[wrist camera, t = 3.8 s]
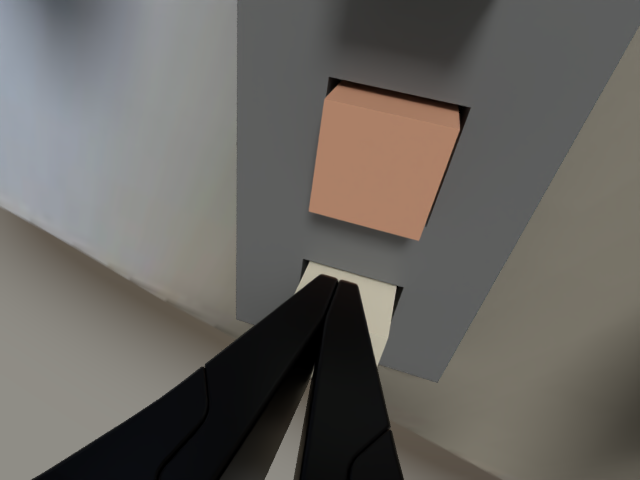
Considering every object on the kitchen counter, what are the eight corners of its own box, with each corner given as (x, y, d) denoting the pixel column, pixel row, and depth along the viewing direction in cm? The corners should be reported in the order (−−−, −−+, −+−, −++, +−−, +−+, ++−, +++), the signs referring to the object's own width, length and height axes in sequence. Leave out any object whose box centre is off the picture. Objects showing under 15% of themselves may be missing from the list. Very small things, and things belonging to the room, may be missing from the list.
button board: (792, -321, 8) (873, -388, 7) (438, 354, 23) (437, 382, 21) (272, -353, 10) (239, -413, 8) (249, 296, 24) (236, 319, 23)
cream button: (397, 284, 19) (388, 338, 16) (376, 341, 21) (366, 395, 19) (310, 260, 19) (287, 307, 16) (301, 318, 22) (280, 367, 19)
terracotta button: (457, 99, 15) (460, 129, 12) (423, 198, 17) (418, 241, 15) (346, 75, 15) (324, 98, 12) (329, 174, 18) (308, 211, 15)
